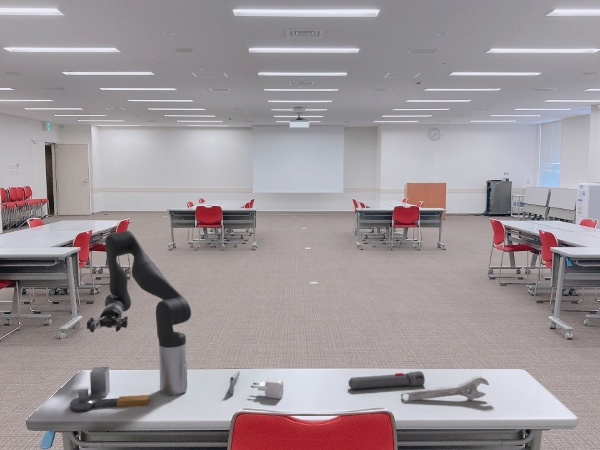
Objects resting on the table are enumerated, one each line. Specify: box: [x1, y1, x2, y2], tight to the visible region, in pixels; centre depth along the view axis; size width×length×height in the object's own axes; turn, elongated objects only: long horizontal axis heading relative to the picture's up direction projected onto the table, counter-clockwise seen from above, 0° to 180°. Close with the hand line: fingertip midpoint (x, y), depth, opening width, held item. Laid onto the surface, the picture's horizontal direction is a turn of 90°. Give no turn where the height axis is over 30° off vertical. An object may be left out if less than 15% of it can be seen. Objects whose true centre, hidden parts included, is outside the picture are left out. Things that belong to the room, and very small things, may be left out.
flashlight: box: [348, 370, 426, 390], centre depth 176 cm, size 5×28×5 cm, turn 100°
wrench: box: [400, 376, 490, 402], centre depth 165 cm, size 8×2×30 cm
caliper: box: [229, 371, 241, 396], centre depth 178 cm, size 20×1×6 cm, turn 0°
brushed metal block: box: [89, 366, 111, 399], centre depth 169 cm, size 5×5×9 cm
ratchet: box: [69, 388, 151, 413], centre depth 161 cm, size 25×8×6 cm, turn 98°
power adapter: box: [250, 377, 284, 400], centre depth 168 cm, size 11×5×6 cm, turn 76°
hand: (104, 329), depth 177 cm, fingers open, 8 cm apart
